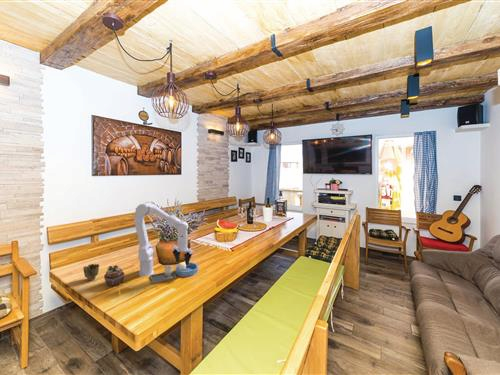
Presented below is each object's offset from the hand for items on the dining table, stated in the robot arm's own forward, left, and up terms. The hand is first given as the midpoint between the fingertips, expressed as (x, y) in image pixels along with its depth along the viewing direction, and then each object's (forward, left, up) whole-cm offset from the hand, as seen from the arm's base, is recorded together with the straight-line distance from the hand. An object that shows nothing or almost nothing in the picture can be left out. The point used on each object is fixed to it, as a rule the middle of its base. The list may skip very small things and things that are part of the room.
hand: (182, 262), depth 138 cm
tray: (+1, -12, -7) cm, 14 cm away
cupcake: (-6, -36, -7) cm, 37 cm away
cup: (-17, -47, -7) cm, 51 cm away
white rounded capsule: (0, 0, -6) cm, 6 cm away
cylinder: (0, -8, -6) cm, 10 cm away
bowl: (0, +3, -7) cm, 7 cm away
